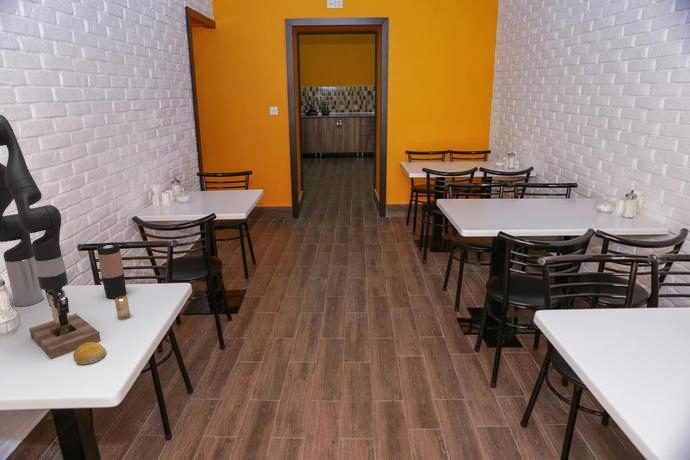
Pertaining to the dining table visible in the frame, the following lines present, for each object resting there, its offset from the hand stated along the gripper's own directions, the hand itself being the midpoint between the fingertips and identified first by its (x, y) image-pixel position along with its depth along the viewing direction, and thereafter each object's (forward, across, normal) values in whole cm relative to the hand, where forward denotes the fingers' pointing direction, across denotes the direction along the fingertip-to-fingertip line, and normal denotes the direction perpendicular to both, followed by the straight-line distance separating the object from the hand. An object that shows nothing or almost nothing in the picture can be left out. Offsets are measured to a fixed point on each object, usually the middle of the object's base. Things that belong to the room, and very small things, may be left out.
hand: (61, 322), depth 154 cm
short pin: (+6, -1, +19) cm, 20 cm away
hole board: (+6, 0, 0) cm, 6 cm away
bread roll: (+6, +18, +1) cm, 19 cm away
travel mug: (+6, -22, +25) cm, 34 cm away
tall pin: (+5, 0, 0) cm, 5 cm away
